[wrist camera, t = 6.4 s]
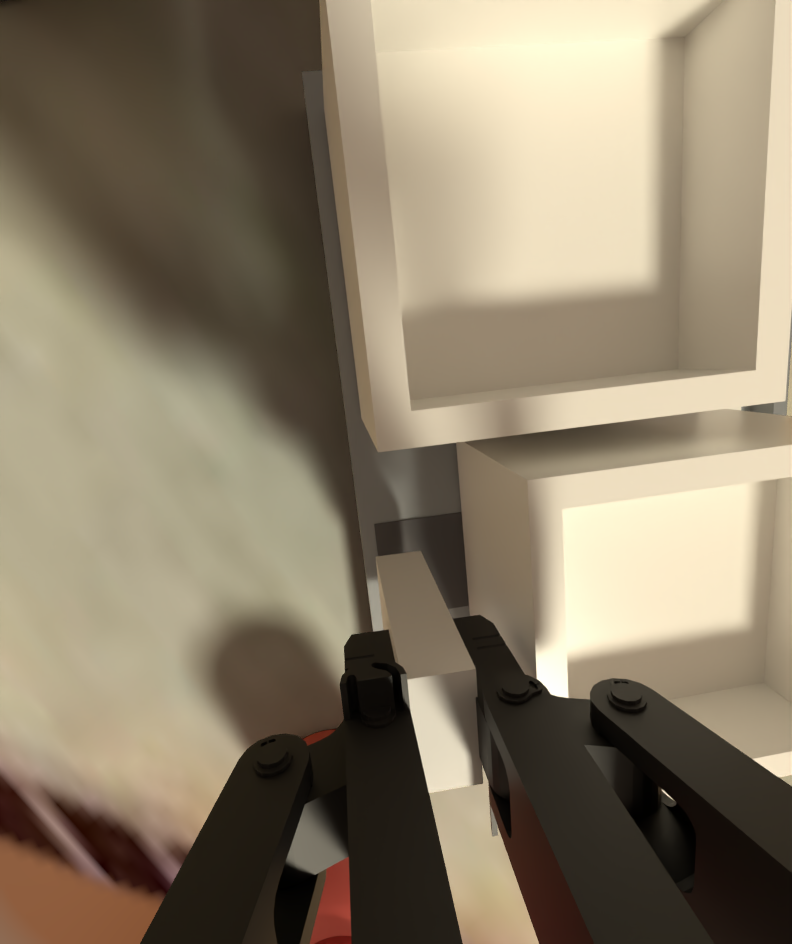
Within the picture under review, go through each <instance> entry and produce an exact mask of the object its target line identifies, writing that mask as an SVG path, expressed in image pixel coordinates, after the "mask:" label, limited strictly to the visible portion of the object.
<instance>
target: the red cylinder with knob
mask: <svg viewBox="0 0 792 944" xmlns="http://www.w3.org/2000/svg"><path fill="white" fill-rule="evenodd" d="M335 730H336V729H335ZM335 730H326V731H321V732H318V733H315V734H312V735H310V736H308V737H306V738H304V739H303V740H304V741H306V743H307V746H308V745H310V744H313V743H315V742H317V741H320V740H321V739H323V738H325V737H327V736H329V735H330V734H331V733H333V732H334V731H335ZM310 944H351V912H350V881H349V857H347V858H345V859H343V860H342V861H340V862H338V863H336V864H334V865H332V866H331V867H329V868H327V870H326V880H325V884H324V888H323V892H322V896H321V900H320V904H319V908H318V912H317V916H316V920H315V924H314V928H313V932H312V936H311V940H310Z"/></svg>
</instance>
